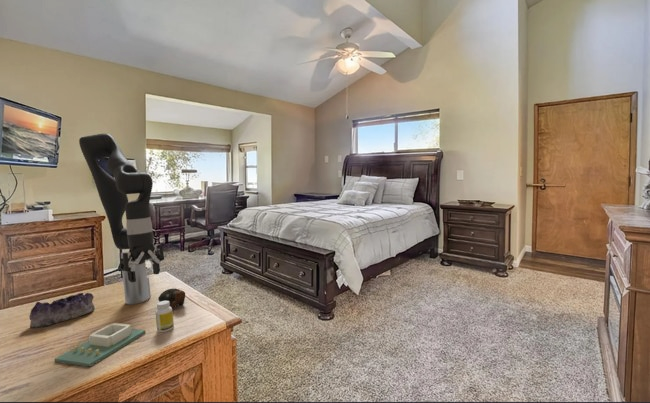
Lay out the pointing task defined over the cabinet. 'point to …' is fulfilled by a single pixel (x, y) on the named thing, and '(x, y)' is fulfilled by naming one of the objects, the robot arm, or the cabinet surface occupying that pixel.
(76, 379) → the cabinet surface
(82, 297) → the geode
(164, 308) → the supplement bottle
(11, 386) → the cabinet surface
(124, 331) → the header board
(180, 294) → the decorative turtle
